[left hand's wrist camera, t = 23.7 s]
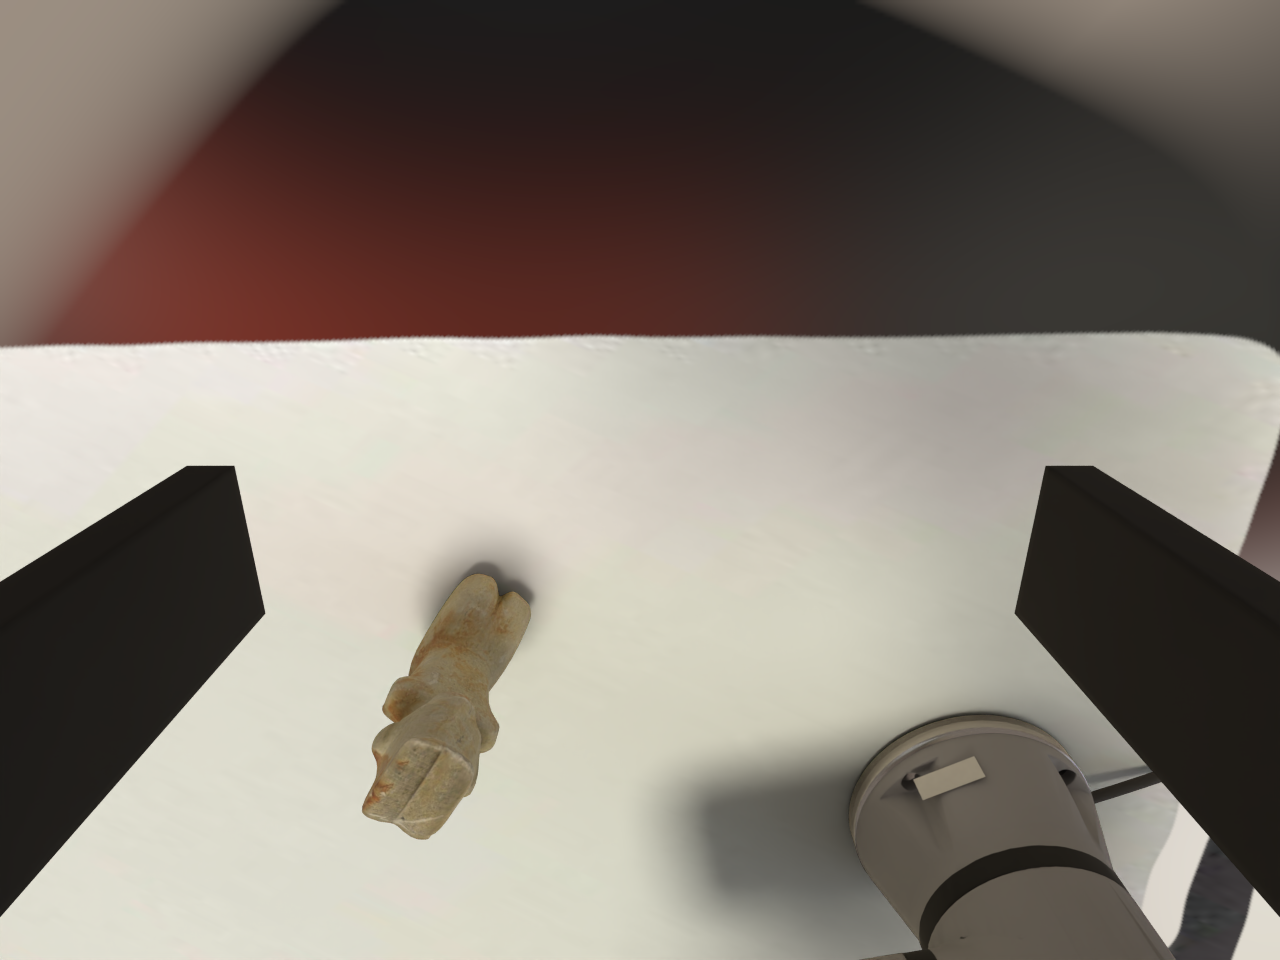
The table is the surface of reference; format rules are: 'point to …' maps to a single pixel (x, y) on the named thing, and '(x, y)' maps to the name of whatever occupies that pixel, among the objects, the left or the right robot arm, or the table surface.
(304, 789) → the table surface
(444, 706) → the sculpture
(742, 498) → the table surface
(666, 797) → the table surface
